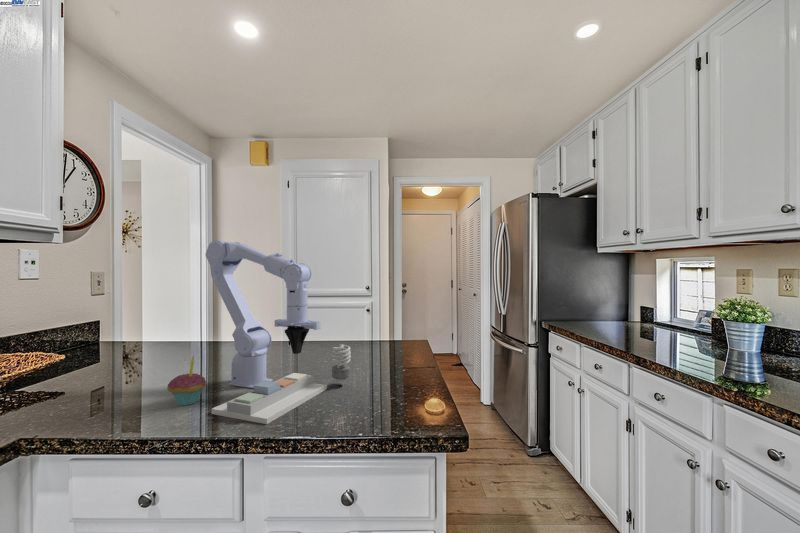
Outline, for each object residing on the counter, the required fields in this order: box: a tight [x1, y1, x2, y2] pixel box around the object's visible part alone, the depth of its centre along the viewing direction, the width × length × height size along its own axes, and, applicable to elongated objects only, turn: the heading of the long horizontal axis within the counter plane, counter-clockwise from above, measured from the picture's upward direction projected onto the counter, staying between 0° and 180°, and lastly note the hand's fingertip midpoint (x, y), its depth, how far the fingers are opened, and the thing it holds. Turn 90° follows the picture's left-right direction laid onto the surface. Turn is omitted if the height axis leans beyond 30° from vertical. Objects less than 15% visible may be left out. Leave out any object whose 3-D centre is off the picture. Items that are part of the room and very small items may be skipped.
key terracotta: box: [275, 378, 294, 388], centre depth 98 cm, size 4×4×2 cm
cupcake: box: [166, 355, 207, 406], centre depth 93 cm, size 9×8×12 cm
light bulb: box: [331, 343, 352, 386], centre depth 108 cm, size 6×6×12 cm
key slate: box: [253, 380, 280, 395], centre depth 92 cm, size 4×4×2 cm
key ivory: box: [284, 372, 308, 381], centre depth 103 cm, size 4×4×2 cm
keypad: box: [211, 372, 328, 425], centre depth 95 cm, size 16×25×3 cm, turn 160°
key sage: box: [234, 392, 264, 404], centre depth 87 cm, size 4×4×2 cm
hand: (296, 353), depth 105 cm, fingers closed
